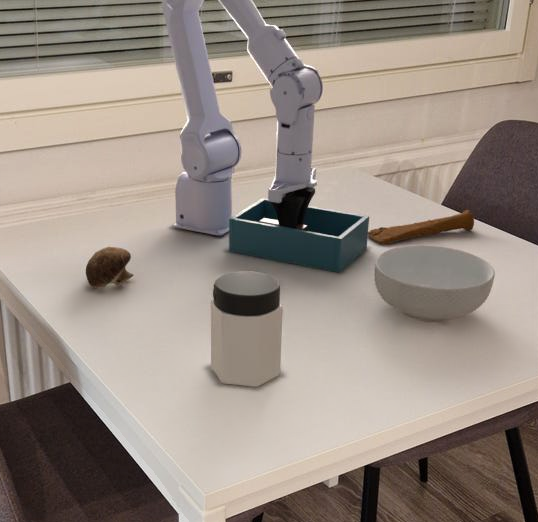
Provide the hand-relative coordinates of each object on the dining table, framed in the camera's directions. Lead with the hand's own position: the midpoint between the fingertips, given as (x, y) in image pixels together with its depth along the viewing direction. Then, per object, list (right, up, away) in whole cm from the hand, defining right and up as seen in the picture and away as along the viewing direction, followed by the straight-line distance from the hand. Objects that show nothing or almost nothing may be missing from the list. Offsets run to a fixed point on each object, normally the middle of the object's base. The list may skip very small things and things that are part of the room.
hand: (290, 234), depth 159 cm
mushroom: (-28, -11, -14) cm, 33 cm away
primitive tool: (+23, +2, +8) cm, 25 cm away
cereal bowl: (+19, -16, -19) cm, 32 cm away
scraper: (+1, -2, 0) cm, 2 cm away
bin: (+1, -2, +1) cm, 3 cm away
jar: (-7, -27, -37) cm, 46 cm away
